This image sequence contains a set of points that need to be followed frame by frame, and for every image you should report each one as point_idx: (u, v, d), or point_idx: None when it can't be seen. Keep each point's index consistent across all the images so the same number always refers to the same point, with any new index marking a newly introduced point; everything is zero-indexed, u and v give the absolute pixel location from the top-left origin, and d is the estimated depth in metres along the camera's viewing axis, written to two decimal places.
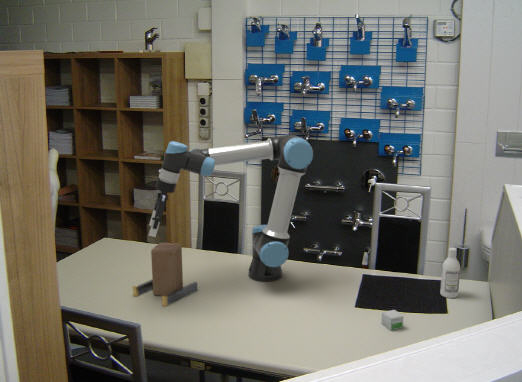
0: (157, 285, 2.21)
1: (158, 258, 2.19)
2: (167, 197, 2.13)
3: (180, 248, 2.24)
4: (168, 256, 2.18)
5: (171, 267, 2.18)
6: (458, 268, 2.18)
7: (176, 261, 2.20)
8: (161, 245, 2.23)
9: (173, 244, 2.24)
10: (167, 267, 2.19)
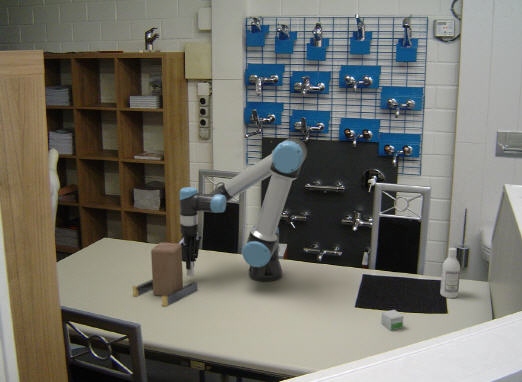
0: (157, 285, 2.21)
1: (158, 258, 2.19)
2: (189, 240, 2.31)
3: (180, 248, 2.24)
4: (168, 256, 2.18)
5: (171, 267, 2.18)
6: (458, 268, 2.18)
7: (176, 261, 2.20)
8: (161, 245, 2.23)
9: (173, 244, 2.24)
10: (167, 267, 2.19)
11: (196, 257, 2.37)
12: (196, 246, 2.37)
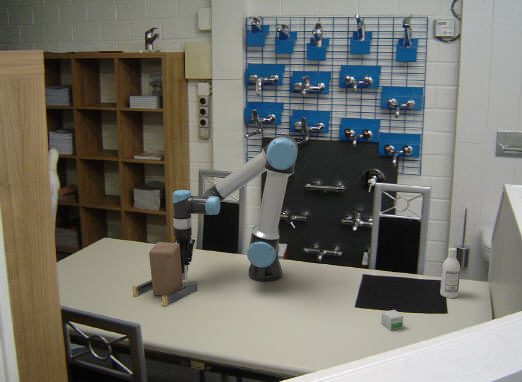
0: (156, 286, 2.21)
1: (156, 260, 2.17)
2: (183, 243, 2.28)
3: (178, 248, 2.22)
4: (166, 258, 2.16)
5: (169, 269, 2.17)
6: (458, 268, 2.18)
7: (174, 262, 2.18)
8: (159, 246, 2.20)
9: (171, 244, 2.22)
10: (166, 268, 2.17)
11: (190, 261, 2.34)
12: (190, 249, 2.34)
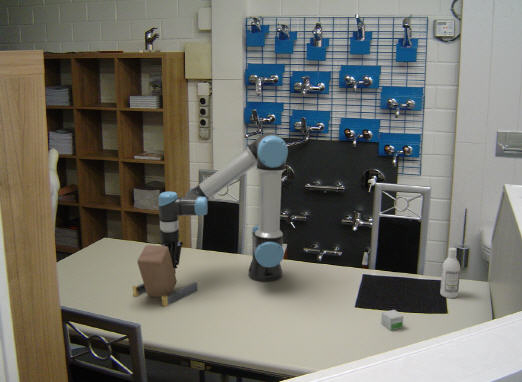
0: (149, 289, 2.18)
1: (145, 268, 2.12)
2: (170, 246, 2.22)
3: (167, 252, 2.15)
4: (155, 267, 2.10)
5: (160, 275, 2.12)
6: (458, 268, 2.18)
7: (165, 268, 2.13)
8: (147, 252, 2.14)
9: (159, 249, 2.15)
10: (156, 275, 2.13)
11: (177, 264, 2.28)
12: (177, 252, 2.28)
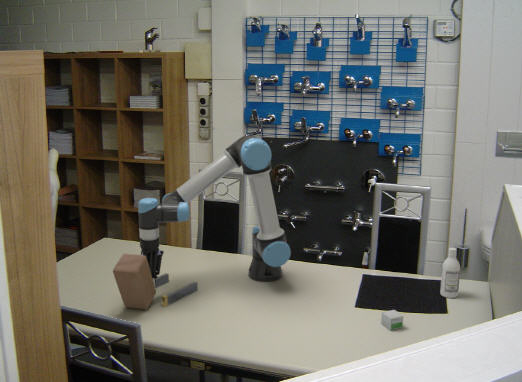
0: (126, 300, 2.09)
1: (121, 278, 2.02)
2: (149, 255, 2.13)
3: (145, 261, 2.05)
4: (131, 277, 2.00)
5: (136, 286, 2.02)
6: (458, 268, 2.18)
7: (141, 278, 2.03)
8: (124, 261, 2.04)
9: (137, 258, 2.05)
10: (133, 286, 2.03)
11: (158, 273, 2.19)
12: (158, 262, 2.19)
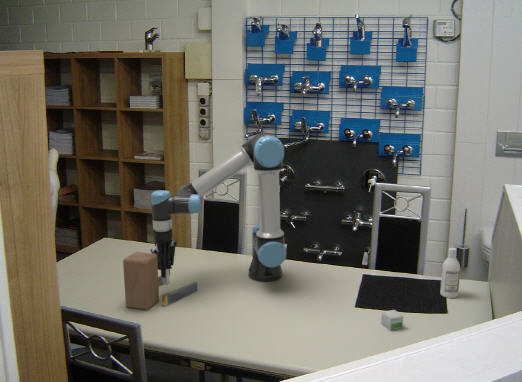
0: (129, 297, 2.10)
1: (129, 269, 2.08)
2: (163, 246, 2.18)
3: (155, 259, 2.12)
4: (139, 267, 2.06)
5: (142, 279, 2.07)
6: (458, 268, 2.18)
7: (148, 273, 2.08)
8: (135, 255, 2.11)
9: (148, 254, 2.12)
10: (139, 278, 2.07)
11: (172, 264, 2.24)
12: (171, 252, 2.24)
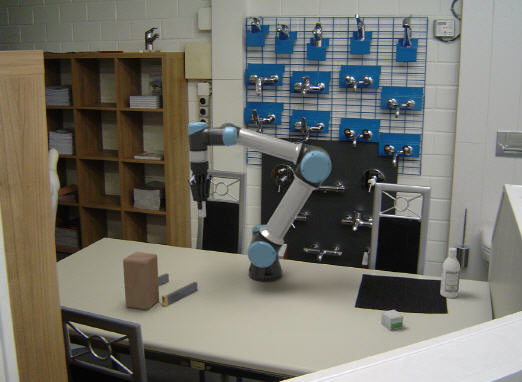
0: (129, 297, 2.10)
1: (129, 269, 2.08)
2: (200, 177, 2.20)
3: (155, 259, 2.12)
4: (139, 267, 2.06)
5: (142, 279, 2.07)
6: (458, 268, 2.18)
7: (148, 273, 2.08)
8: (135, 255, 2.11)
9: (148, 254, 2.12)
10: (139, 278, 2.07)
11: (207, 197, 2.27)
12: (207, 185, 2.27)
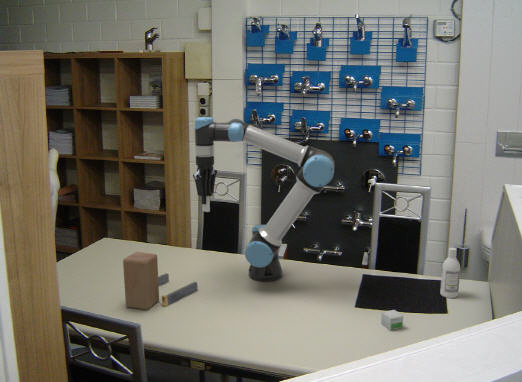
0: (129, 297, 2.10)
1: (129, 269, 2.08)
2: (205, 172, 2.21)
3: (155, 259, 2.12)
4: (139, 267, 2.06)
5: (142, 279, 2.07)
6: (458, 268, 2.18)
7: (149, 273, 2.08)
8: (135, 255, 2.12)
9: (148, 254, 2.12)
10: (139, 278, 2.07)
11: (212, 192, 2.28)
12: (212, 180, 2.27)
